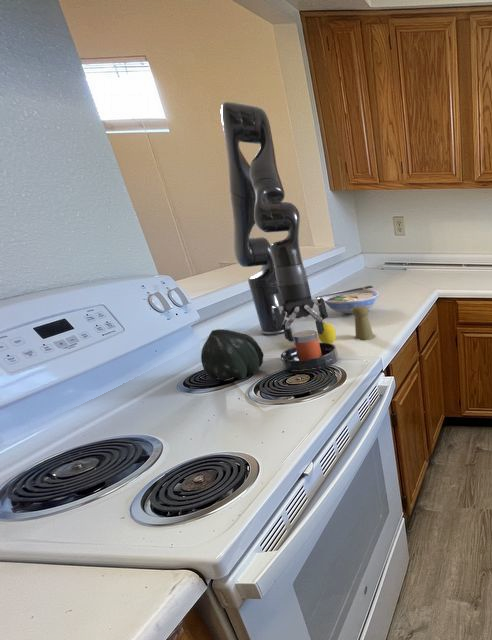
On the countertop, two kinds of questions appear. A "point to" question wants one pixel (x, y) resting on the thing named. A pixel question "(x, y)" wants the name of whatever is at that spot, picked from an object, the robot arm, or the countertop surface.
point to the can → (307, 344)
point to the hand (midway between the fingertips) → (306, 337)
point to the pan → (324, 361)
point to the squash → (230, 355)
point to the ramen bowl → (351, 299)
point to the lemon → (327, 333)
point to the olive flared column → (362, 323)
